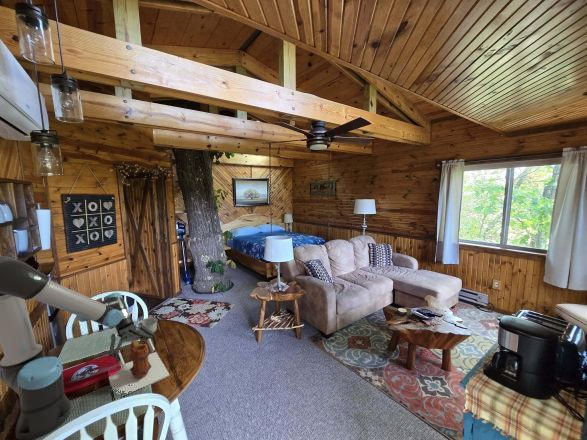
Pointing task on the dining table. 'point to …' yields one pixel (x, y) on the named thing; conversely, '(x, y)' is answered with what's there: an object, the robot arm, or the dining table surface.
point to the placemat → (126, 378)
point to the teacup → (149, 324)
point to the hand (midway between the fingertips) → (139, 358)
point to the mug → (139, 359)
